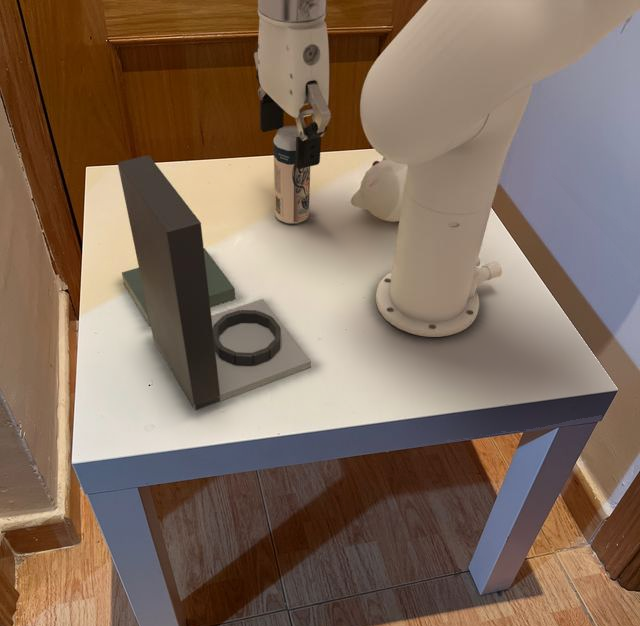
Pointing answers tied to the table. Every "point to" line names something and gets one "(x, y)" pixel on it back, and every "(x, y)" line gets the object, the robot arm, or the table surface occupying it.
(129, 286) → the dark green flat block
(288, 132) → the beer can
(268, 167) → the table surface
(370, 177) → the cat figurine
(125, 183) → the l-shaped can stand
